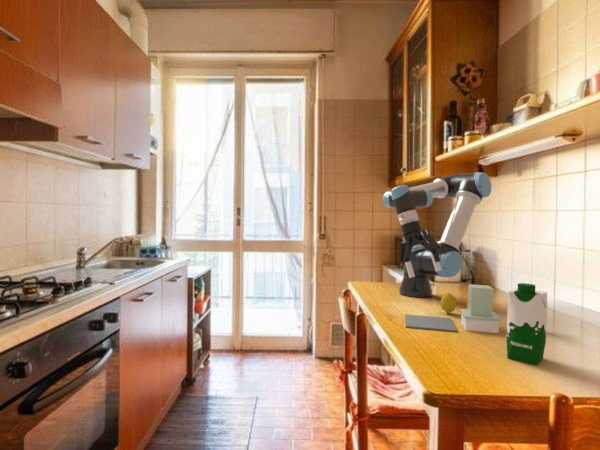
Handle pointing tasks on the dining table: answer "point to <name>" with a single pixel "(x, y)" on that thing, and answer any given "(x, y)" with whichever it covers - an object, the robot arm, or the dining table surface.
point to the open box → (480, 325)
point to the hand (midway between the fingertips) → (425, 274)
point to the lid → (480, 304)
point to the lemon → (448, 303)
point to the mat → (430, 323)
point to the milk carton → (526, 324)
